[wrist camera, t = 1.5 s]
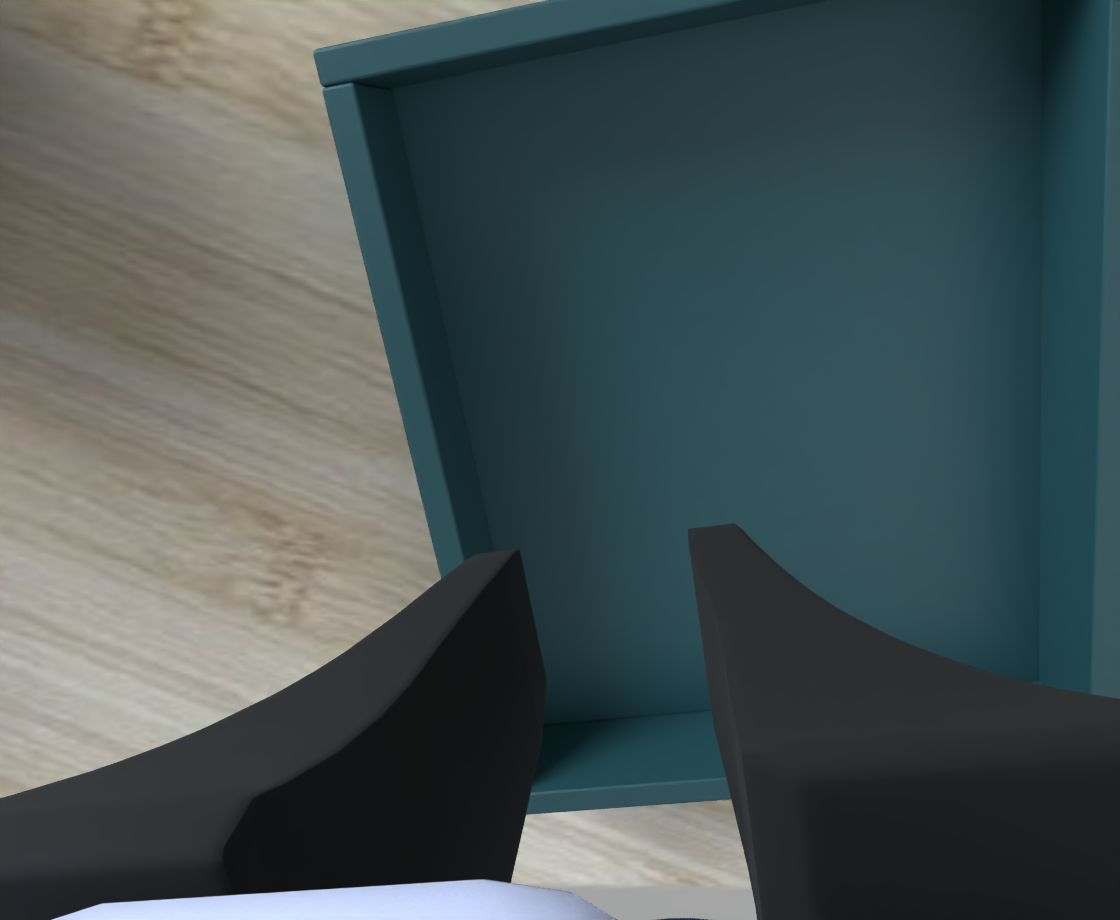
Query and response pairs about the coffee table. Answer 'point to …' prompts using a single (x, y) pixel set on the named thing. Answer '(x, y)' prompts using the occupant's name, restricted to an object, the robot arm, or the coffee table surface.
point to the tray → (752, 331)
